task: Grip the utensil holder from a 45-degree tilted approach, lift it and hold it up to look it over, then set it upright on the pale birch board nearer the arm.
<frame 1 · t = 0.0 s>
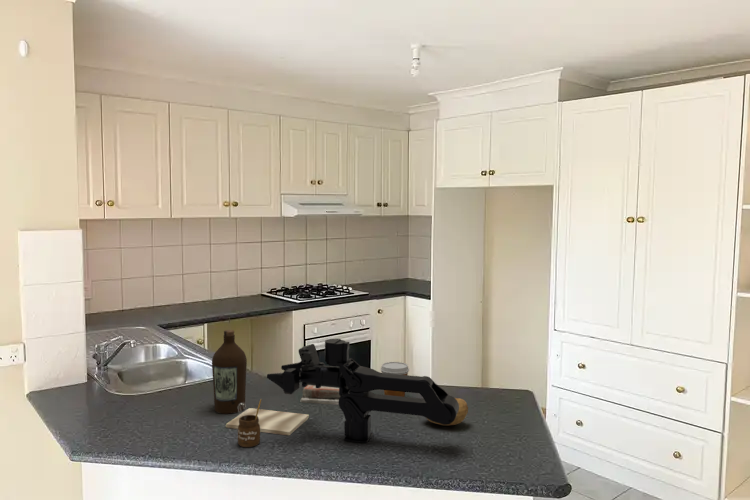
hand: (274, 371, 162), 17 cm above the counter, tool horizontal, fingers open, 9 cm apart
disposable coffee cup: (394, 401, 187), on the counter
potato: (443, 425, 166), on the counter
packaged product: (329, 401, 188), on the counter
birch board: (268, 422, 167), on the counter
olive oil: (229, 409, 178), on the counter
utensil holder: (249, 444, 152), on the counter
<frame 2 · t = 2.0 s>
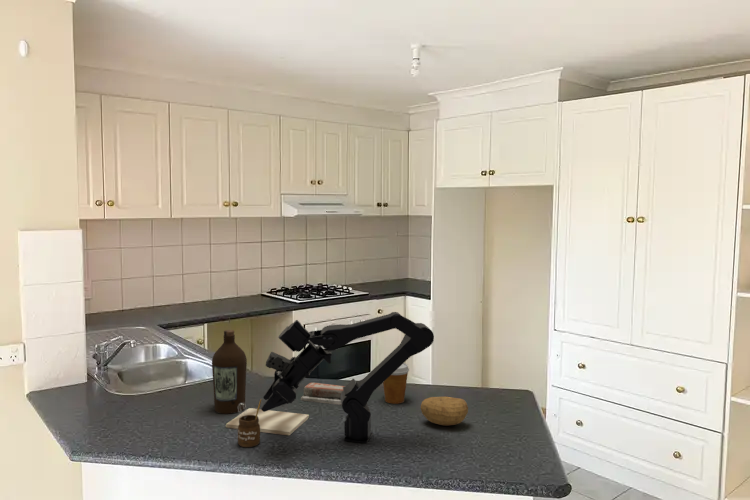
hand: (263, 404, 152), 11 cm above the counter, tool tilted 45°, fingers open, 9 cm apart
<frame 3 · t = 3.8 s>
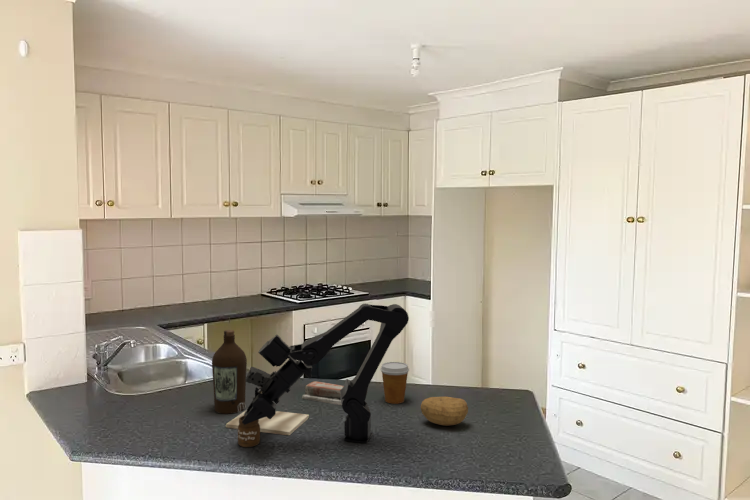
hand: (244, 419, 151), 7 cm above the counter, tool tilted 45°, fingers closed on utensil holder, 5 cm apart
utensil holder: (249, 444, 152), on the counter, touching gripper
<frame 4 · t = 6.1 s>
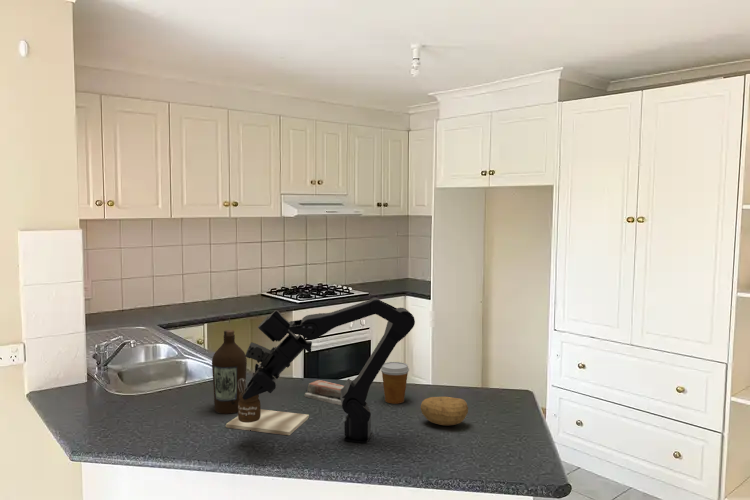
hand: (244, 395, 151), 13 cm above the counter, tool tilted 45°, fingers closed on utensil holder, 5 cm apart
utensil holder: (250, 419, 151), point 6 cm above the counter, touching gripper
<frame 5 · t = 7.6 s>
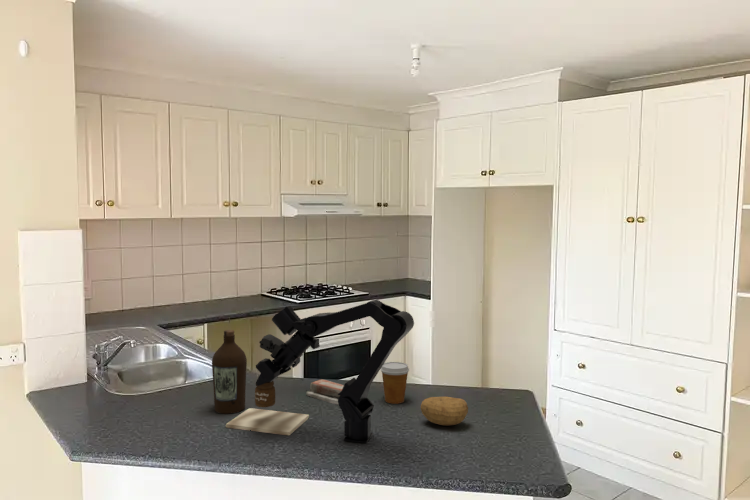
hand: (261, 381, 165), 12 cm above the counter, tool tilted 45°, fingers closed on utensil holder, 5 cm apart
utensil holder: (265, 405, 166), point 6 cm above the counter, touching gripper
when the fingers open (9 cm above the counter, at t = 8.7 s): utensil holder drops 1 cm, resting on birch board.
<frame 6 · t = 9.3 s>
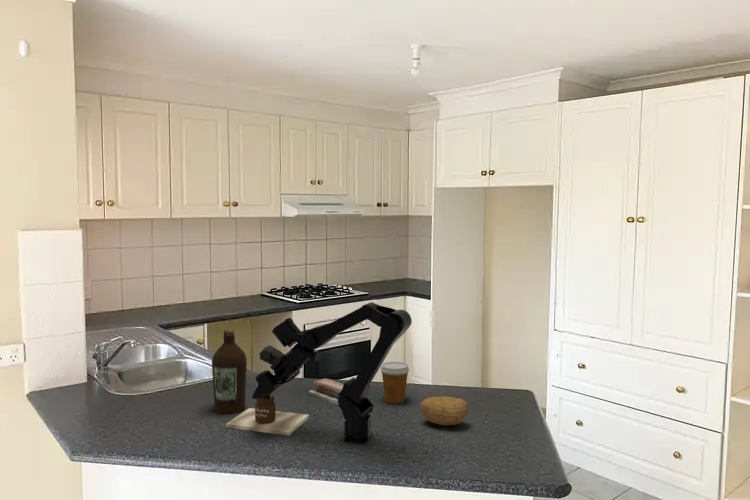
hand: (260, 393, 166), 9 cm above the counter, tool tilted 45°, fingers open, 9 cm apart
utensil holder: (265, 421, 166), point 1 cm above the counter, touching birch board
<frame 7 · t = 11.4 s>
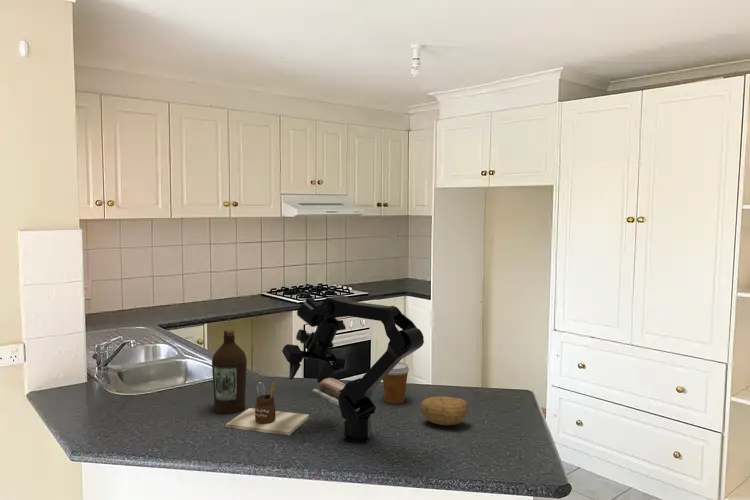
hand: (304, 380, 165), 13 cm above the counter, tool tilted 25°, fingers open, 9 cm apart
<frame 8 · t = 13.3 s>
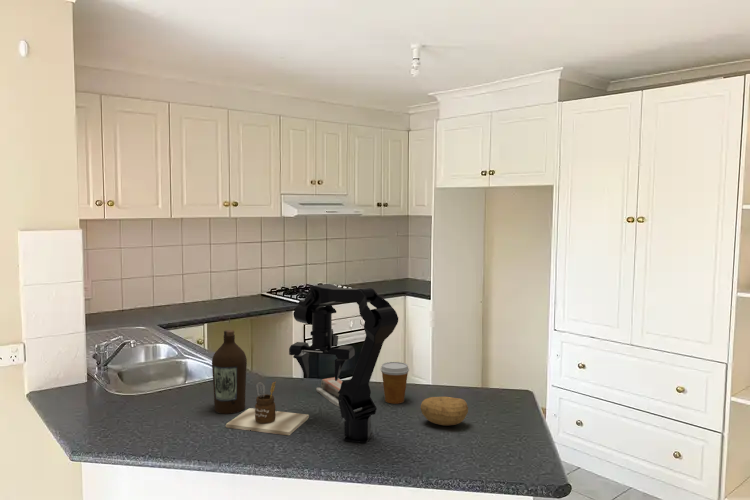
hand: (321, 379, 167), 13 cm above the counter, tool pointing down, fingers open, 9 cm apart
at the end: utensil holder inside the target area on the birch board (1.0 cm from its centre), point 0.8 cm above the birch board's base; utensil holder tilted 0°; the gripper is holding nothing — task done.
